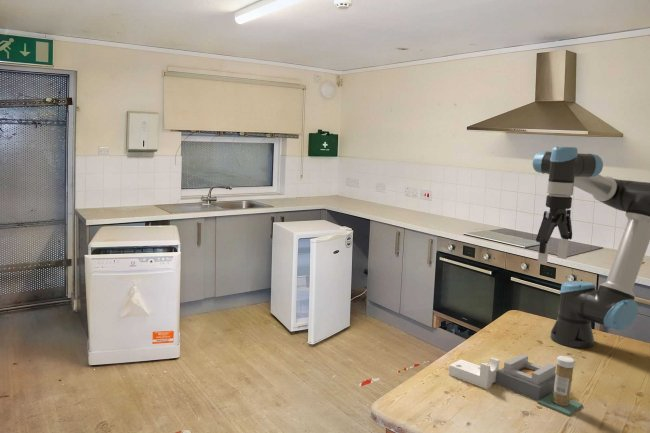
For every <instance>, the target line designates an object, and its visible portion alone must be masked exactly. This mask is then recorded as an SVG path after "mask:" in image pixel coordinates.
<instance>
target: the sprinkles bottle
mask: <svg viewBox="0 0 650 433" xmlns="http://www.w3.org/2000/svg"><path fill="white" fill-rule="evenodd" d="M575 363H576V362H575V359H574V358H572V357H570V356H566V355H559V356H558V357H557V358H556V370H555V373H556V376H555V384H554V392H553V393H554V395H553V399H552V400H553V402H554V403H555V404H557V405H561V406H567V405H569V399H570V396H571V392H572V381H573V372H574V367H575Z"/></svg>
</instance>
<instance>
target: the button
mask: <svg viewBox="0 0 650 433" xmlns="http://www.w3.org/2000/svg"><path fill="white" fill-rule="evenodd" d="M521 372H524V373H526V374H529V375H532V373H533V372H534V371H531V370H522V371H521Z"/></svg>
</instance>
